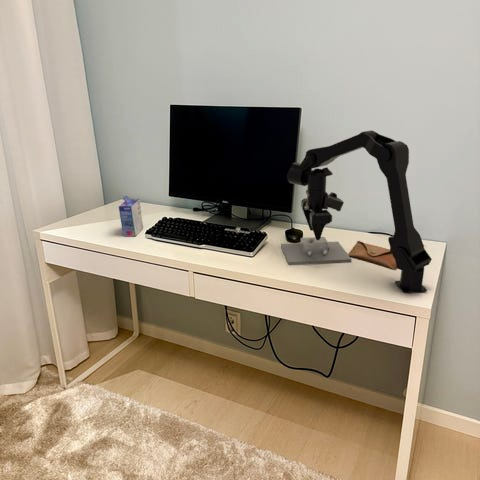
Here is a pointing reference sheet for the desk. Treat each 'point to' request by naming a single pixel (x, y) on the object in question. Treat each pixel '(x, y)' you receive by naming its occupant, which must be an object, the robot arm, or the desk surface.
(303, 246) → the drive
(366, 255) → the sunglasses case
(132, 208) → the ink cartridge box
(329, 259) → the pin tray
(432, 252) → the desk surface
